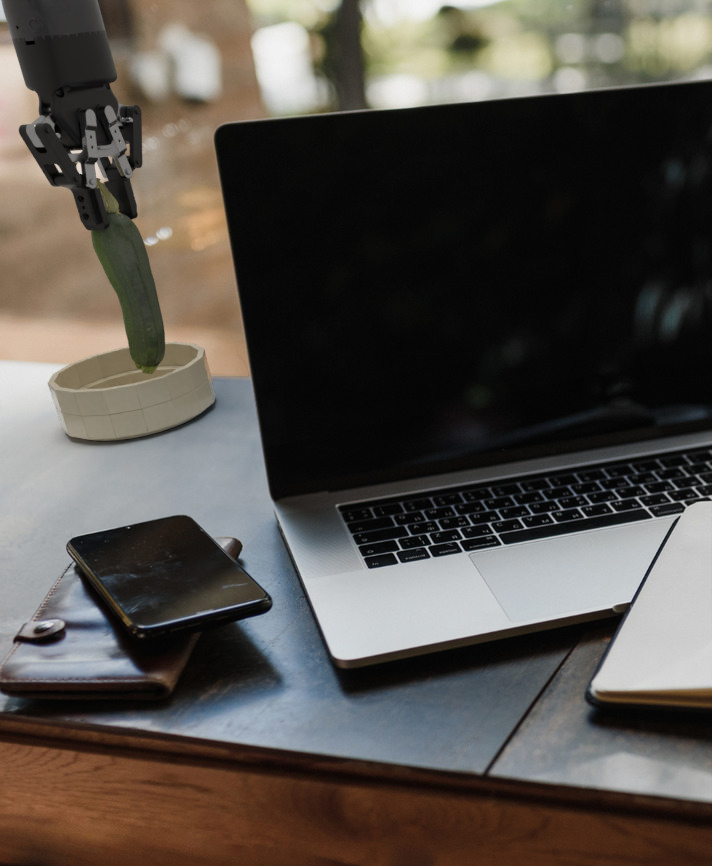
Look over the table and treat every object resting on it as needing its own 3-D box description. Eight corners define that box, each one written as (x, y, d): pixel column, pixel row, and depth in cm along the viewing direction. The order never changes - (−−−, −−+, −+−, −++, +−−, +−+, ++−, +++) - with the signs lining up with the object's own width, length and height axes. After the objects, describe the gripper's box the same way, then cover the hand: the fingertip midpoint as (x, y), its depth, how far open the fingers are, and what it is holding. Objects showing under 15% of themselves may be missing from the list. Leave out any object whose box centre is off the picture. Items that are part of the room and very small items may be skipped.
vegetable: (183, 364, 110) (129, 165, 102) (173, 378, 106) (117, 172, 98) (137, 370, 109) (80, 171, 101) (126, 384, 105) (66, 178, 98)
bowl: (53, 456, 101) (35, 401, 99) (78, 406, 113) (63, 357, 111) (212, 427, 104) (198, 373, 102) (220, 381, 117) (207, 333, 115)
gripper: (77, 28, 102) (126, 210, 109) (-40, 39, 90) (24, 243, 96) (145, 22, 101) (191, 207, 107) (36, 32, 88) (96, 241, 95)
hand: (112, 223), depth 102 cm, fingers closed on vegetable, 3 cm apart
